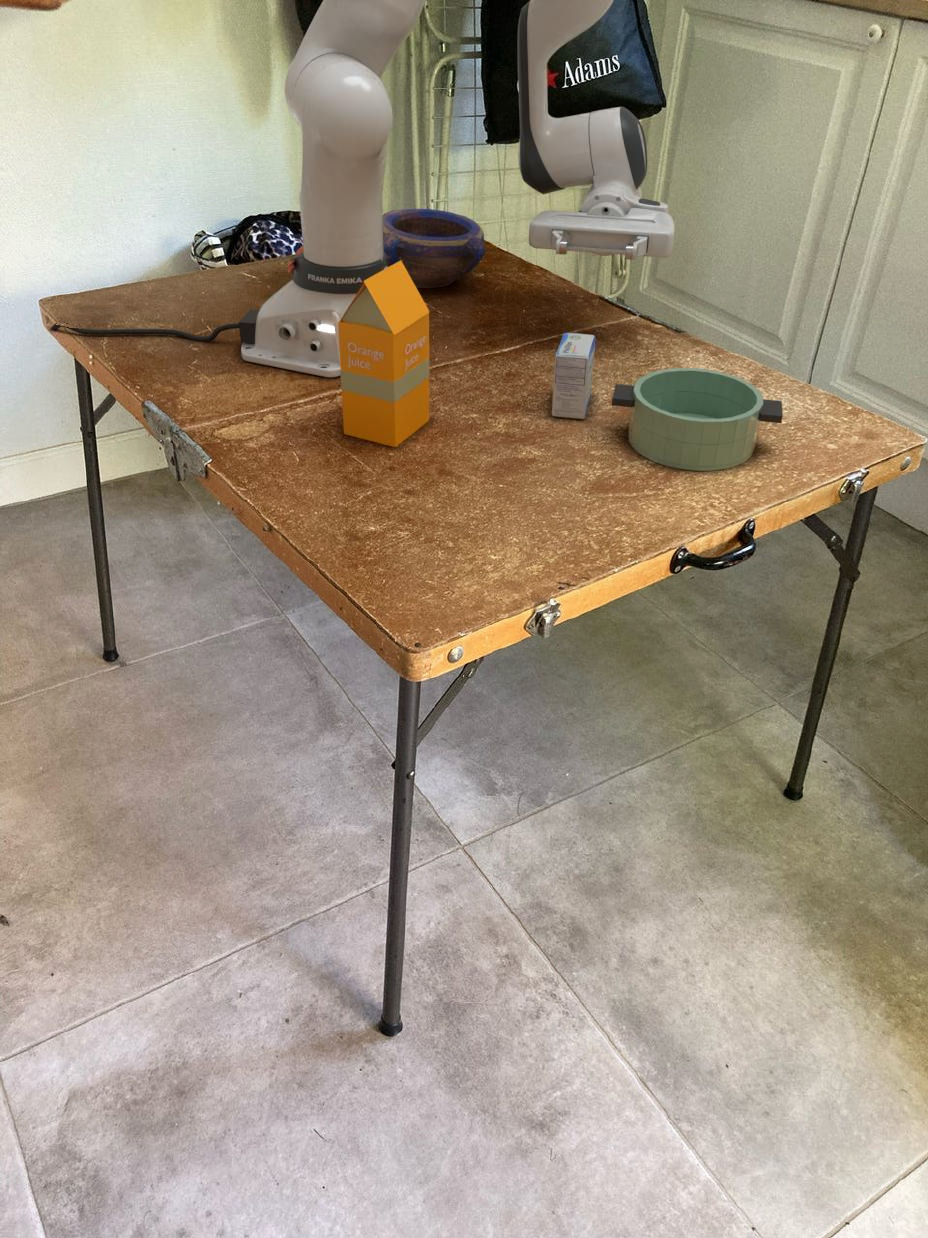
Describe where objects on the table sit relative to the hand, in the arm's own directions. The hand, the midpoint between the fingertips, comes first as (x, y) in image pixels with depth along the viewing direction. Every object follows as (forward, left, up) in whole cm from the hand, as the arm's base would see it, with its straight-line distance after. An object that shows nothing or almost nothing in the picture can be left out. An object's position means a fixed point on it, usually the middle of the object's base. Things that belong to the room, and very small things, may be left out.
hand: (595, 251), depth 144 cm
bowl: (-30, +29, -16) cm, 45 cm away
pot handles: (+16, -21, -11) cm, 29 cm away
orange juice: (-22, -27, -16) cm, 38 cm away
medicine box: (0, -15, -16) cm, 22 cm away
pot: (+16, -21, -16) cm, 31 cm away
